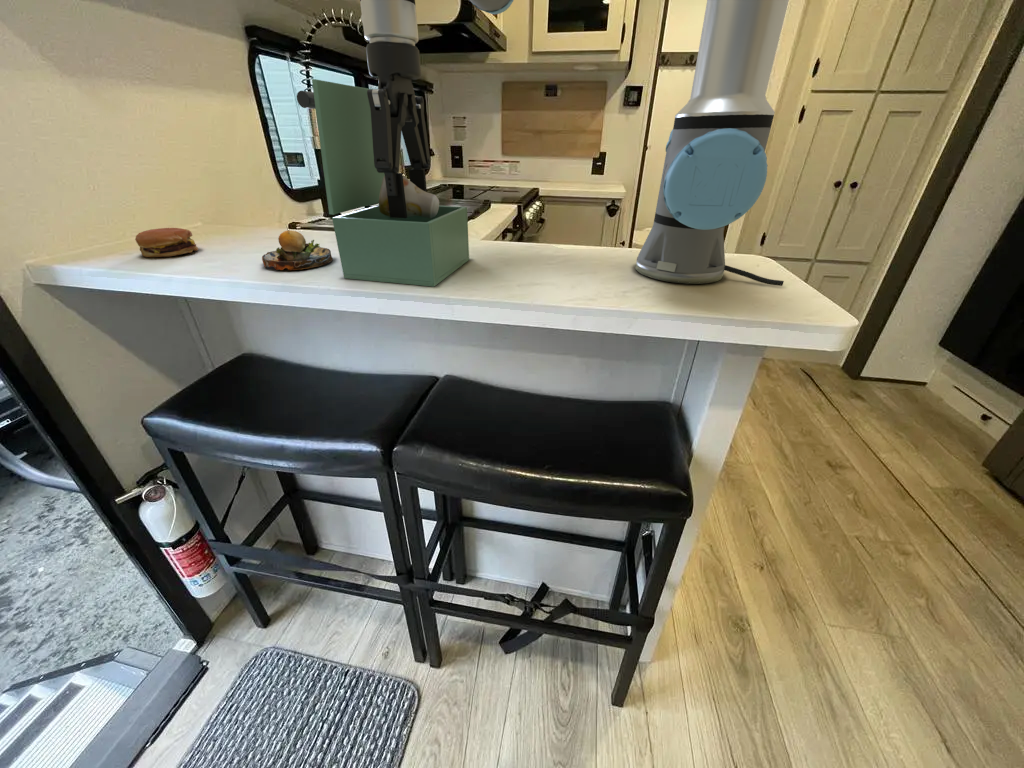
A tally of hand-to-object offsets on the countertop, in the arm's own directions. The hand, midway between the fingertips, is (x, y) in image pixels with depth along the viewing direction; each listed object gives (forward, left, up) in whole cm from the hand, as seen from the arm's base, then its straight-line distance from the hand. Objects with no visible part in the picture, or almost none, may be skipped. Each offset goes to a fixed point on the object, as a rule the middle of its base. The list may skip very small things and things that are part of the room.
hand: (410, 213), depth 71 cm
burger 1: (+52, +4, -10) cm, 53 cm away
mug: (0, 0, -1) cm, 1 cm away
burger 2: (+23, +3, -10) cm, 25 cm away
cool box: (+1, 0, -10) cm, 10 cm away
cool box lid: (+8, 0, +9) cm, 12 cm away
